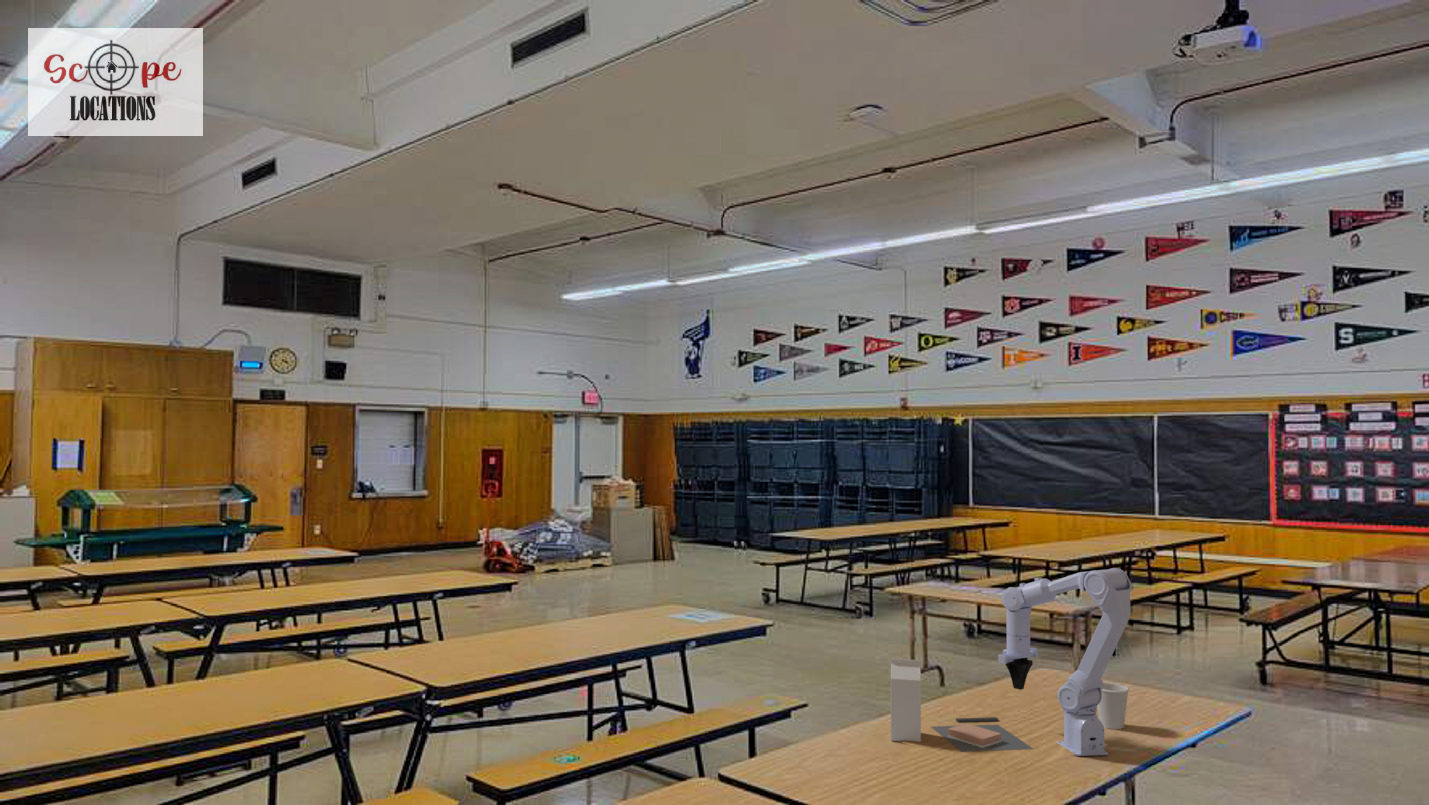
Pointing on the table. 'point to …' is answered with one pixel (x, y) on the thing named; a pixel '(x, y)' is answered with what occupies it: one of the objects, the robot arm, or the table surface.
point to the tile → (974, 735)
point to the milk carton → (905, 700)
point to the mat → (1006, 744)
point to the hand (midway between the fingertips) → (1018, 688)
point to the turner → (977, 719)
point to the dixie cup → (1113, 705)
